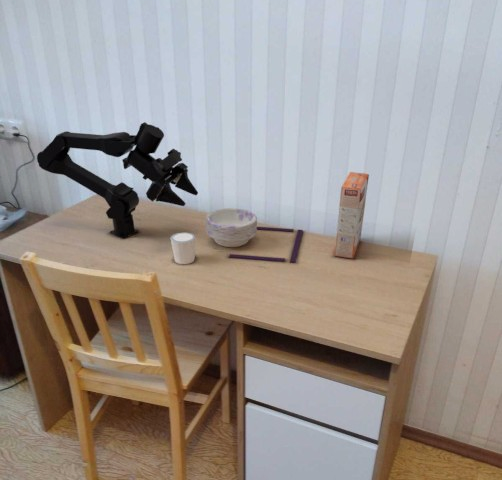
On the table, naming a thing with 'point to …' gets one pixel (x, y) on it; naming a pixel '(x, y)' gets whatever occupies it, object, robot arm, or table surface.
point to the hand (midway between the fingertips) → (191, 199)
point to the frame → (292, 260)
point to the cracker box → (351, 214)
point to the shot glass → (183, 247)
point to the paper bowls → (231, 226)
